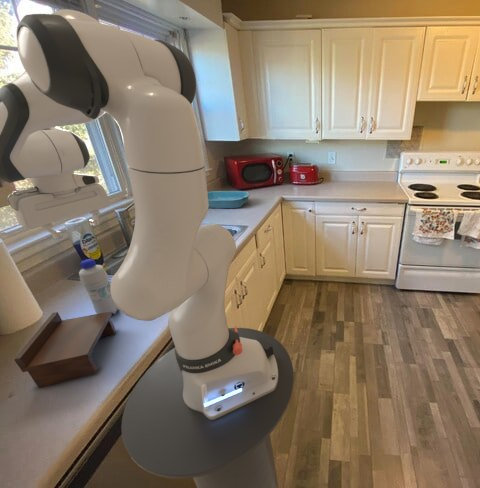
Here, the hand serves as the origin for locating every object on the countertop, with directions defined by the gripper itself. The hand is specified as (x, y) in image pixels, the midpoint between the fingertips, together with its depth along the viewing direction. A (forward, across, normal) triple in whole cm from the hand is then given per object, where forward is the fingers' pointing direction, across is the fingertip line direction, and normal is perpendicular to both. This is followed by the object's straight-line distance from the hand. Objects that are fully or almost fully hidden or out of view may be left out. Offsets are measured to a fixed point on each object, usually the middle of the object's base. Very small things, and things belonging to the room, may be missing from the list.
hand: (78, 231), depth 79 cm
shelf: (+30, -15, -8) cm, 35 cm away
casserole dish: (+29, +110, +44) cm, 122 cm away
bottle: (+30, 0, +4) cm, 30 cm away
